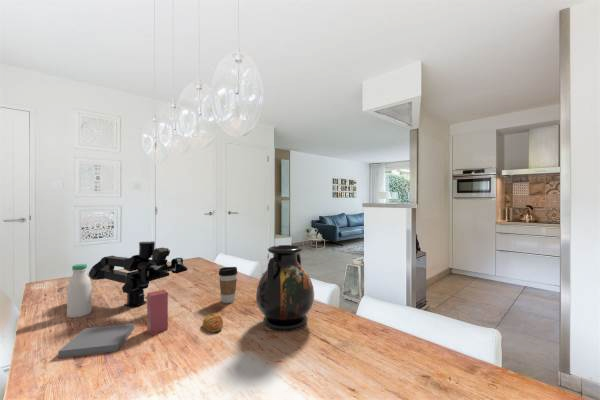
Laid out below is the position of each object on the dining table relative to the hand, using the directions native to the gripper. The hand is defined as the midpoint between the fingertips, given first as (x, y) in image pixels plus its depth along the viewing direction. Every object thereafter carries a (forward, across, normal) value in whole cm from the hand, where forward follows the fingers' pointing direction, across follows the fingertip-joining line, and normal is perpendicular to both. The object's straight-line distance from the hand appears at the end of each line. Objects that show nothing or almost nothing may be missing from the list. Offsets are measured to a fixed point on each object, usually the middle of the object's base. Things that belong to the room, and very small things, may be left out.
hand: (178, 271), depth 112 cm
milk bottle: (-35, -16, +19) cm, 43 cm away
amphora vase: (+45, +8, +15) cm, 48 cm away
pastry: (+23, -4, +16) cm, 28 cm away
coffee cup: (+11, +19, +16) cm, 27 cm away
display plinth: (-4, -27, +17) cm, 32 cm away
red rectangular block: (+6, -14, +16) cm, 22 cm away
